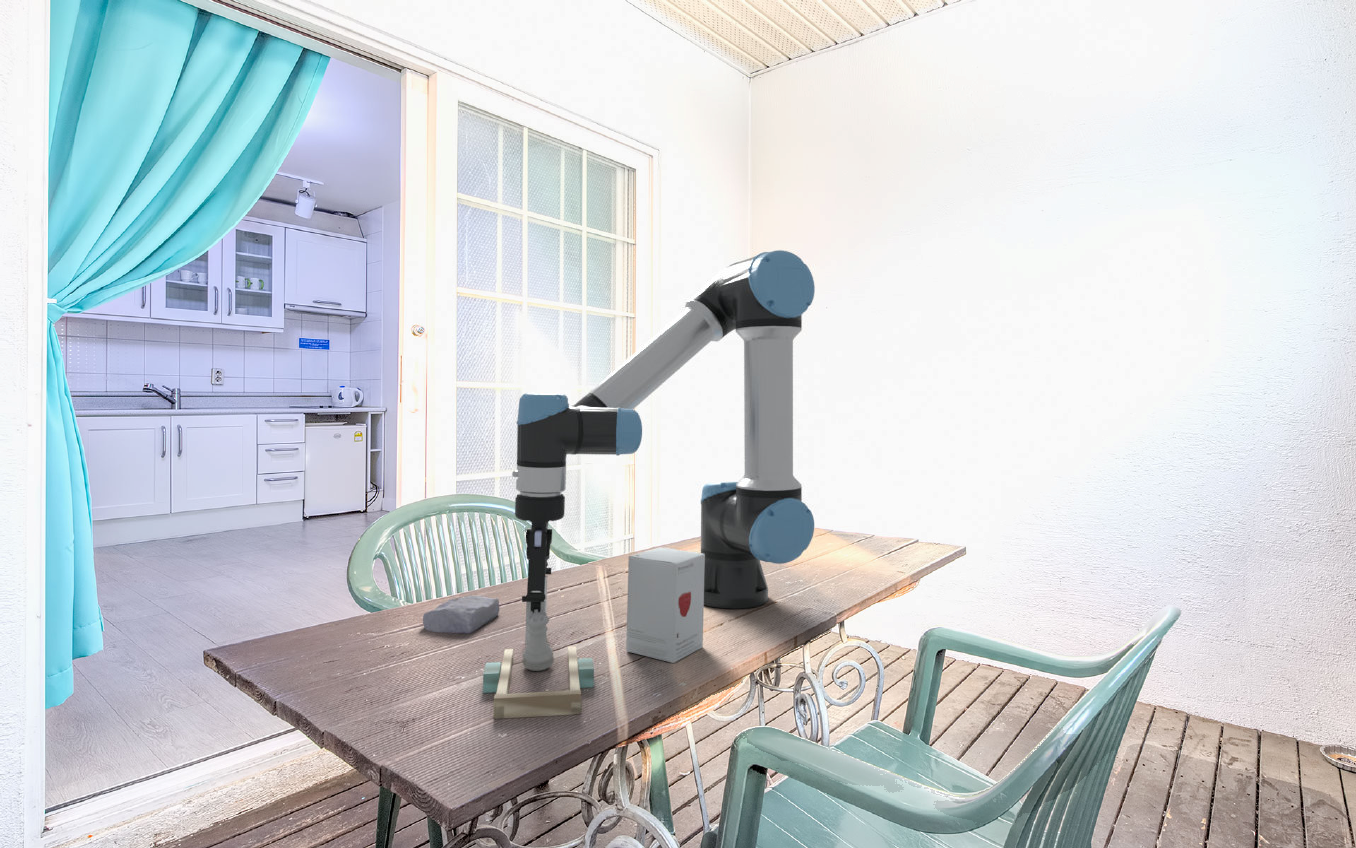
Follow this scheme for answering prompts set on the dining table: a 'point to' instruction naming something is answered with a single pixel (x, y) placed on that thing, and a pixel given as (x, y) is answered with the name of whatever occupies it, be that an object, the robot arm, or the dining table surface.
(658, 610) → the supplement box
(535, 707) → the beam track
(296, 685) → the dining table surface
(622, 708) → the dining table surface
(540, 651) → the rook chess piece
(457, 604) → the stone block
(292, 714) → the dining table surface
